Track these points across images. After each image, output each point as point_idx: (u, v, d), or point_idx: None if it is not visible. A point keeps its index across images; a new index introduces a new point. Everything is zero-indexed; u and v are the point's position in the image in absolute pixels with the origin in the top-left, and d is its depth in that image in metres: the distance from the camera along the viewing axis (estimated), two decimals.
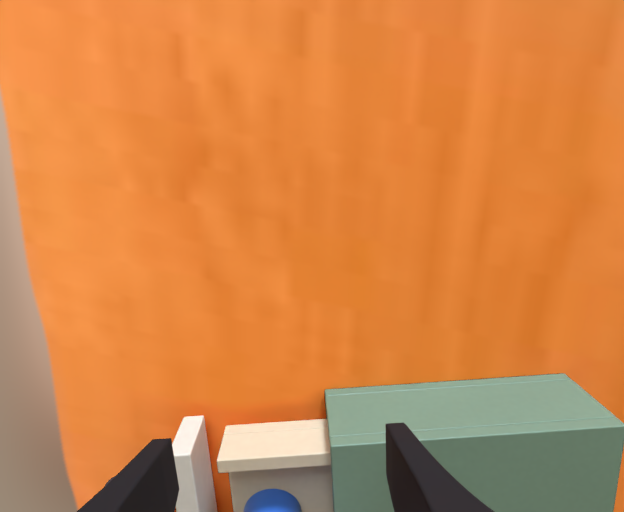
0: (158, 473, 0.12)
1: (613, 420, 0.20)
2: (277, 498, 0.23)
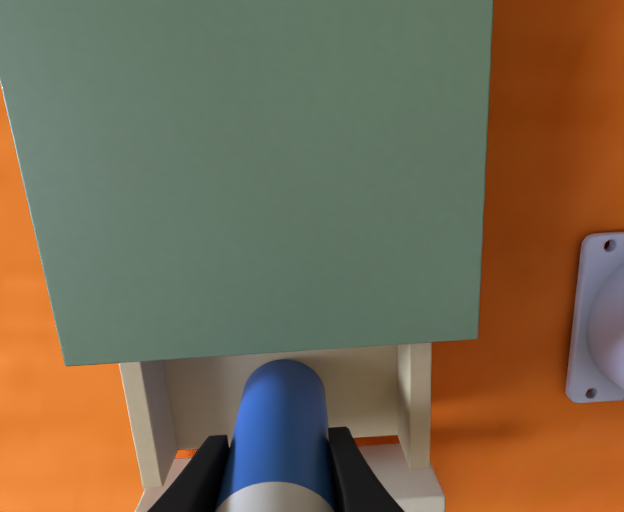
0: (220, 469, 0.12)
1: None
2: (241, 399, 0.16)
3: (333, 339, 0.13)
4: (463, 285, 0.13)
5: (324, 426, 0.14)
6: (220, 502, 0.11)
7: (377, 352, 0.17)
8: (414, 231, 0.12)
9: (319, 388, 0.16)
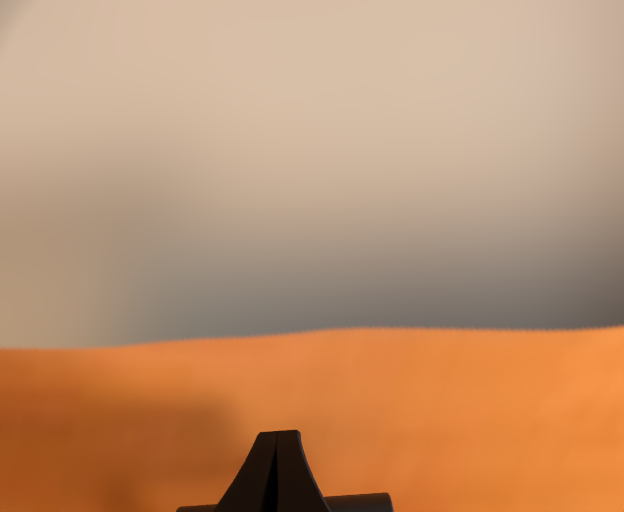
0: (276, 465, 0.12)
1: None
2: None
3: None
4: None
5: None
6: None
7: None
8: None
9: None
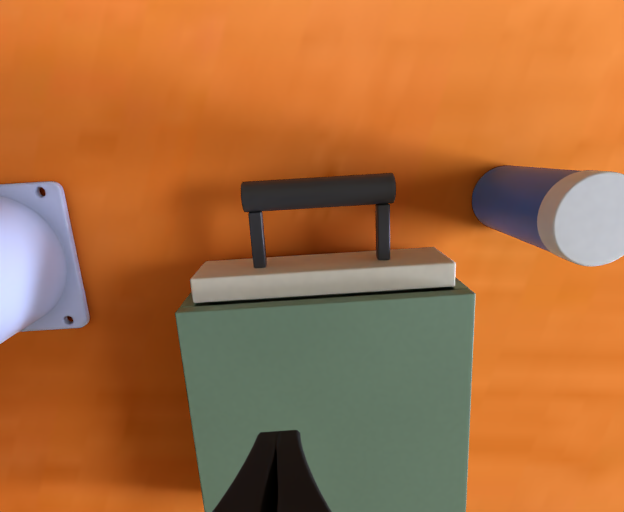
0: (276, 465, 0.12)
1: None
2: None
3: (282, 313, 0.18)
4: (192, 351, 0.19)
5: (500, 222, 0.19)
6: None
7: None
8: (231, 385, 0.19)
9: (482, 217, 0.22)
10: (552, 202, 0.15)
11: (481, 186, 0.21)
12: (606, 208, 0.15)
